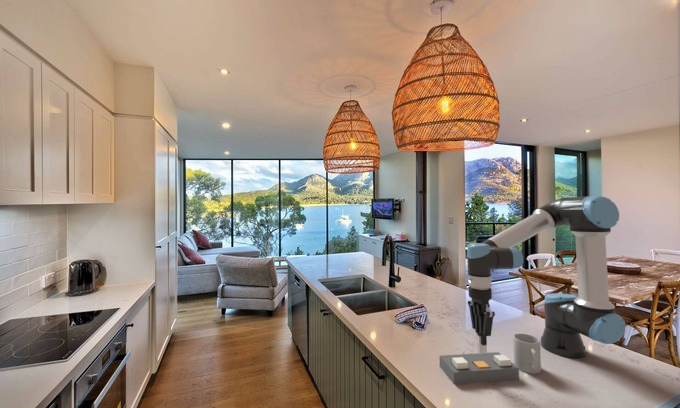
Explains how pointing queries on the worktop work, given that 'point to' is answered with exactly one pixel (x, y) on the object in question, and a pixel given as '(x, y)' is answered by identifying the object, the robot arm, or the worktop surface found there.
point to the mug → (527, 353)
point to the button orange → (481, 364)
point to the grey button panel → (467, 372)
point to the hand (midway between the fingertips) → (482, 352)
